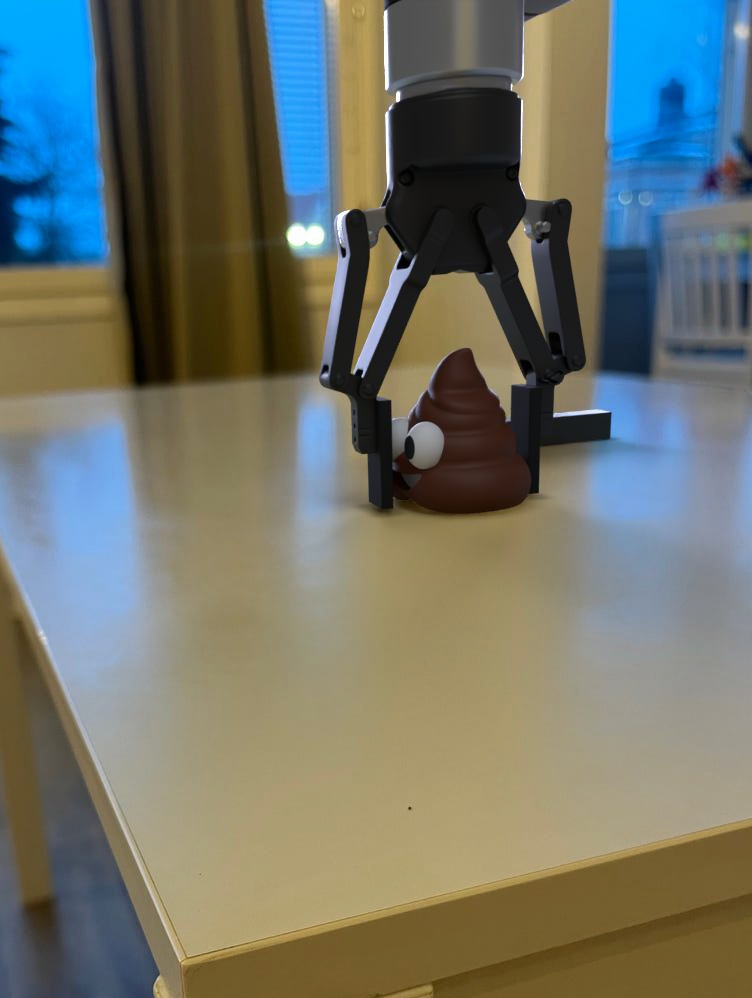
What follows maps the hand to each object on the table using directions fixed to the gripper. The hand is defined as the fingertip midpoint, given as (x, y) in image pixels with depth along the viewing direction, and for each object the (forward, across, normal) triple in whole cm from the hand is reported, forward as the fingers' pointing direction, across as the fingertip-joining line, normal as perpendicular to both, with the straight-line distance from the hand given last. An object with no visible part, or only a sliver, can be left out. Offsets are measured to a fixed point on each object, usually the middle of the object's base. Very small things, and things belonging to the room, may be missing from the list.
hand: (453, 497), depth 62 cm
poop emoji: (0, 0, 0) cm, 0 cm away
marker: (0, -14, -18) cm, 23 cm away
